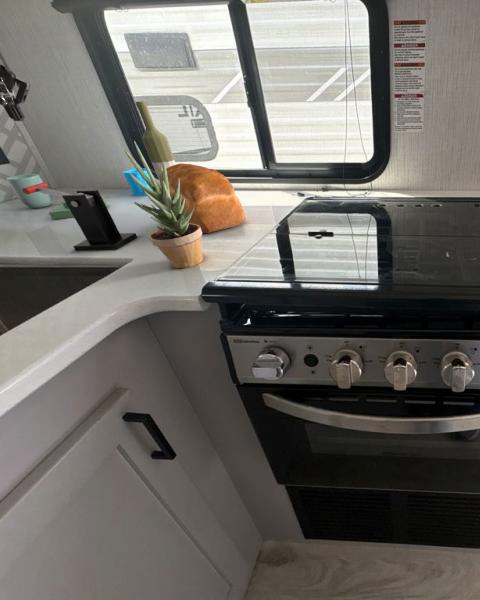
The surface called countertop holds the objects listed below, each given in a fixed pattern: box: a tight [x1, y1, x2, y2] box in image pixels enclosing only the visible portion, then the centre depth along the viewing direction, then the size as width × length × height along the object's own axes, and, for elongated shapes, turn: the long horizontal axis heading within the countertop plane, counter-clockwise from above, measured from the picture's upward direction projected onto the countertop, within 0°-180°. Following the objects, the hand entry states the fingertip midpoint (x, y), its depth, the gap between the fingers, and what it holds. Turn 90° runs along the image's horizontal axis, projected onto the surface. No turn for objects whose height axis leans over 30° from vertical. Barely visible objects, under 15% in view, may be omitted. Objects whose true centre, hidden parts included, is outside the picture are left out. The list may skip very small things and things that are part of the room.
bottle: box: [135, 101, 177, 182], centre depth 112 cm, size 7×7×30 cm
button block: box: [48, 198, 109, 221], centre depth 106 cm, size 12×10×4 cm
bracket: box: [62, 189, 138, 252], centre depth 80 cm, size 10×8×13 cm
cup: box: [6, 173, 52, 209], centre depth 111 cm, size 8×8×10 cm
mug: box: [122, 167, 152, 197], centre depth 123 cm, size 12×8×8 cm
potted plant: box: [124, 140, 204, 269], centre depth 67 cm, size 10×10×25 cm
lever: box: [22, 182, 95, 207], centre depth 77 cm, size 12×5×2 cm, turn 92°
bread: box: [158, 162, 246, 234], centre depth 93 cm, size 14×26×16 cm, turn 49°
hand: (19, 120), depth 95 cm, fingers closed
